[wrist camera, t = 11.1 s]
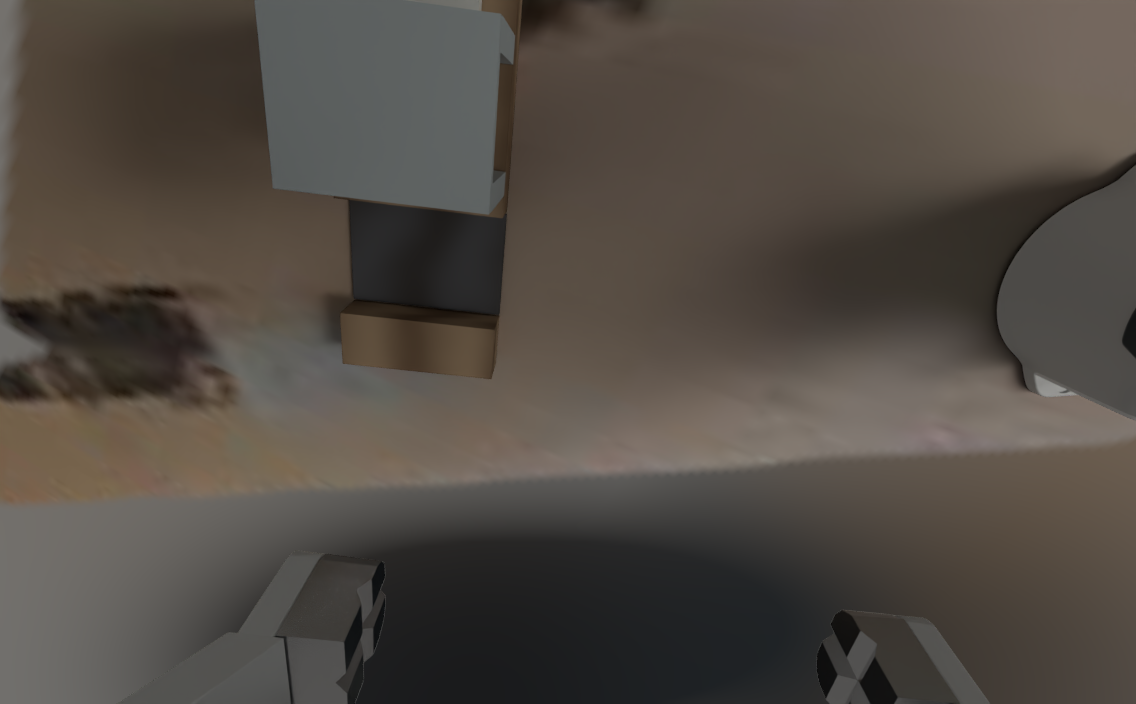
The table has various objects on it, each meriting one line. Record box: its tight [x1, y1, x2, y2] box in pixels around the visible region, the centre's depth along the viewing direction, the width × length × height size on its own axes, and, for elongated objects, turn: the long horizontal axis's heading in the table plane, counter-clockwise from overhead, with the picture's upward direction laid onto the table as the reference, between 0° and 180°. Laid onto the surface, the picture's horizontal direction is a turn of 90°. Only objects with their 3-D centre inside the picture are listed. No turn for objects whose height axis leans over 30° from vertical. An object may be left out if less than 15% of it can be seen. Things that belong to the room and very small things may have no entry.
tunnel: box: [255, 0, 515, 215], centre depth 29 cm, size 11×9×8 cm
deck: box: [334, 0, 522, 379], centre depth 33 cm, size 11×39×3 cm, turn 173°
